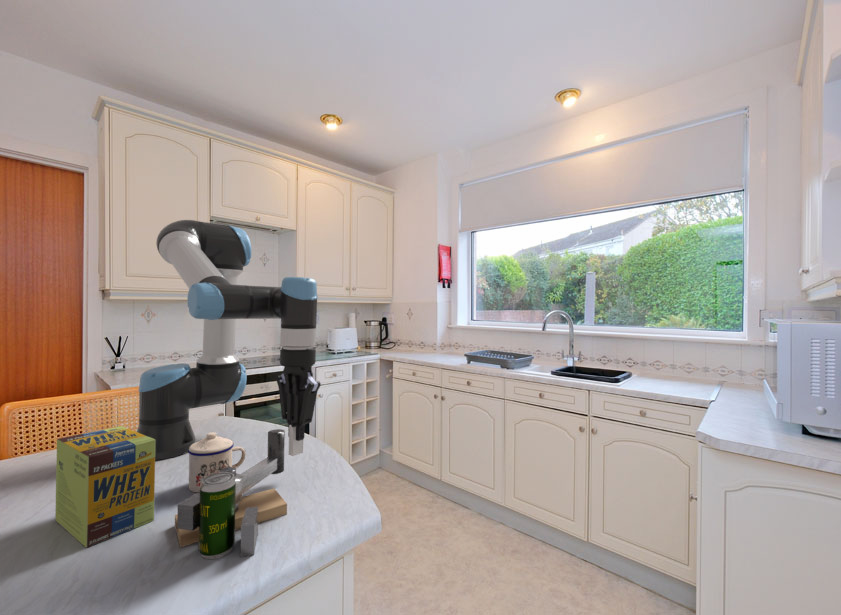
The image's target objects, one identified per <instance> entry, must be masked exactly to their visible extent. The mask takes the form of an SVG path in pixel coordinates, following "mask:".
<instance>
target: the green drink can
mask: <svg viewBox="0 0 841 615" xmlns="http://www.w3.org/2000/svg"><path fill="white" fill-rule="evenodd" d="M234 476H235V475H234V474H232V473H228V472H221V473H215V474H212V475H209V476H207V477H205V478H204V479H202V482H201V483H202V484H201V486H200V504H199V542H198V553H199V554H200V556H201V557H202V558H203V559H205V560H215V559H219V558H222V557H224V556H227V555H228V554H229V553H231V551H232V550H233V548H234V546H235V542H236V530H235V504H236V480H235V479H234Z"/></svg>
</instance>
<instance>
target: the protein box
mask: <svg viewBox="0 0 841 615" xmlns="http://www.w3.org/2000/svg"><path fill="white" fill-rule="evenodd" d="M155 441H156V440H155V439H153V438H150V437H147V436H145V435H143V434H140V433H138V432H137V431H135V430H132V429H130V428H128V427H126V426H122V425H121V426H116V427H112V428H111V427H110V428H105V429H101V430H95V431H90V432H85V433H79V434H76V435H70V436H69V435H68V436H65V437H59V438H57V439H56V464H55V465H56V469H55V470H56V472H55V517H54V518H55V521H56V523H58V524H59V525H60V526H61V527H62V528H64V529H65V530H66V531H67V532H68V533H69V534H70V535H71V536H73V538H75V539H76V540H77V541H78V542H79V543H80V544H81V545H83V546H84V547H85V548H86V549H87V548H89V547H92V546H95V545H96V544H98V543H101V542H102V543H103V541H106V540H107V541H108V540H110V539H111V538H114V537H116V536H119V535H121V534H124V533H126V532H129V531H132V530H135V529H136V528H139V527H141V526H143V525H146V524H148V523H149V524H150V523H151V522H154V520H155V487H156V480H155V479H156V472H155V471H156V460H155Z"/></svg>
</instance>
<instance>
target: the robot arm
mask: <svg viewBox="0 0 841 615" xmlns="http://www.w3.org/2000/svg"><path fill="white" fill-rule="evenodd" d="M156 248H157V249H156V250H157V251H158V253H159V255H160V257H161V258H162V259H163V260H164V261H165V262H166V263H167V264H171V265H172V266H173V268H174V269H175V270H176V272H177V274H178V275H179V276H180V278H181V280H182V281H183V282H184V283H185V285H186V286H187V288H188V289H189V290H188V293H187V297H186V298H187V301H186V302H187V308H188V313H189V314H190V316H191V317H192V318H194V319H196V320H197V319H199V320H203V331H202V332H203V334H202V336H203V337H202V354H201V356H200V357H198V358H197V360H196V364H195V366H196V367H191V366H190V364H188V363H175V364H173V363H172V364H166V365H165V364H164V365H160V366H157V367H156V366H155V367H152V368H150V369H146V370H145V371H144V372H142V374H141V375H140V377H139V387H138V392H139V393H138V394H139V396H138V398H139V399H138V402H139V403H138V427H137V430H136V432H138V433H140V434H143V435H145V436H147V437H150V438H153V439H155V440H156V441H155V461H157V460H164V459H169V458H175V457H178V456H181V455H182V456H183V455H185V454H186V453H188V450H189V447H190V446H191V445H192V444H194V443H196V436H195V433H194V430H193V428H192V424H191V422H190V416H189V415H190V410H191V409H196V408H197V409H198V408H203V407H210V406H215V405H217V406H218V405H225V404H228V403H233V402H235V401H238V400H239V399H240V398H241V397H242V395H244V392H245V389H246V386H247V378H248V377H247V373H246V372H247V370H246V367H245V366H244V364H242V363H240V358H238V356H237V355H236V354H235V345H236V321H237V320H238V319H239V320H242V319H243V320H253V319H254V320H255V319H256V320H257V319H258V320H262V319H263V320H264V319H269V320H271V319H273V320H275V319H277V320H278V319H279V320H280V336H279V345H280V346H281V347H282V348H280V351H279V364H280V366H282V367H283V370H282V374H281V375H277V376H276V377H275V381H276V384H277V386H278V394H279V395H278V396H279V403H280V411H281V413H280V414H281V418H282V420H285V421H286V424H288V426H287V427H288V434H287V435H288V436H287V437H288V455H289V456H291V457H294V456H297V455H300V454H302V453H304V439H305V430H306V429H305V427H306V425H308V424H310V423H312V421H313V416H314V412H315V411H314V410H315V406H316V401H317V396H318V391H319V389H320V387H321V385H322V383H321V381H319V380H317V381H316V380H315V378H313V377H314V373H313V369H312V367H313V366H314V365H316V361H317V359H316V358H317V356H316V355H317V354H316V353H317V352H316V351H317V350H316V349H315V346H316V345H317V341H316V340H317V312H318V299H319V298H318V297H319V296H318V288H317V286H318V284H317V283H318V282H317V281H316V280H315V278H311V277H303V276H302V277H301V276H300V277H299V276H287V277H284V278H283V280H281V286H263V285H262V286H261V285H260V286H259V285H246V284H245V285H243V284H238V277H239V276H240V275H241V274H242V273H243V272H244V267H246V266H248V265H249V264H250V262H251V259H252V250H253V249H252V244H251V240H250V237H249V235H248V234H247V232H246V231H245V230H244V229H242V228H239V227H235V226H232V225H227V224H218V223H212V222H206V221H205V222H204V221H200V220H194V219H181V220H180V219H179V220H176V221H174V222H171V223H169V224H167V225H165V226H164V227H163V228H162V229H161V230H160V232H159V233H158V234H157V238H156Z"/></svg>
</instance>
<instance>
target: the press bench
mask: <svg viewBox="0 0 841 615" xmlns="http://www.w3.org/2000/svg"><path fill="white" fill-rule="evenodd" d="M250 507H258V524H259V523H262V522H266V521H269V520H272V519H275V518H279V517H281V516H284V515H287V514H288V503H287V502H286V501H285V499H284V498H283V497H282V495H281V494H279V492H278V490H276V488H270V489H266V490H263V491H259V492H256V493H251V494H249V495H244V496H242V500H241V501H240V502H239V510H238V511H237V512H236V513H235V531H236V530H239V529H240V530H241V525H242V522H243V518H244V514H245V511H246V508H250ZM177 514H178V513H177ZM177 514H175V515H174V527H175V532H176V536H177V540H178V543H179V547H180V548H182V547H186V546H189V545H193V544H195V543H199V527H198V528H196V529H195V530H193V531H190V530H184V529H178V528H177Z"/></svg>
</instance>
